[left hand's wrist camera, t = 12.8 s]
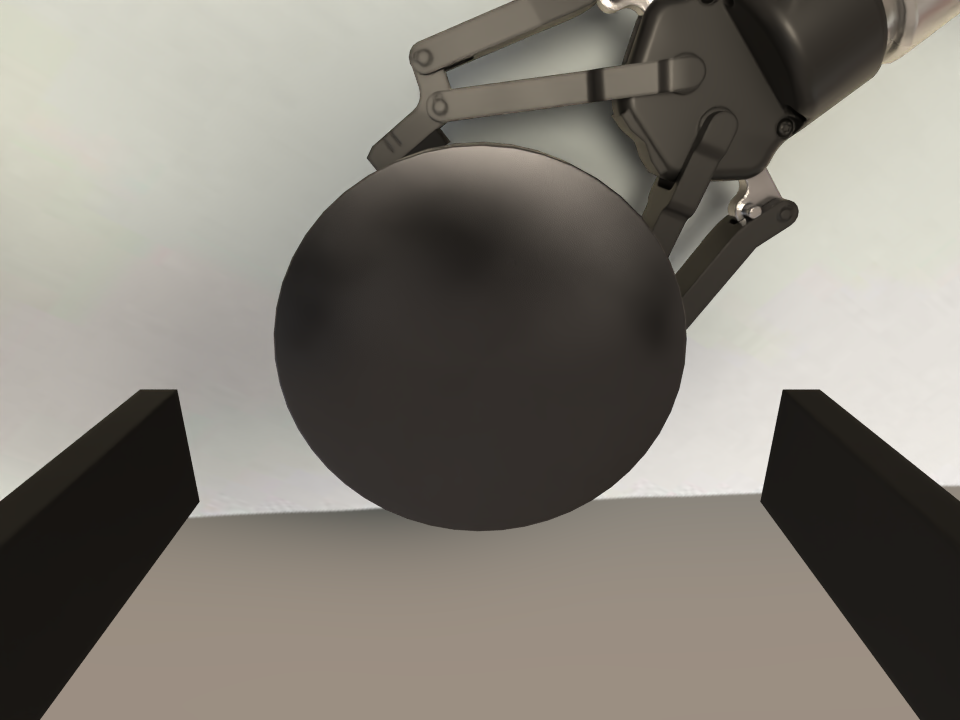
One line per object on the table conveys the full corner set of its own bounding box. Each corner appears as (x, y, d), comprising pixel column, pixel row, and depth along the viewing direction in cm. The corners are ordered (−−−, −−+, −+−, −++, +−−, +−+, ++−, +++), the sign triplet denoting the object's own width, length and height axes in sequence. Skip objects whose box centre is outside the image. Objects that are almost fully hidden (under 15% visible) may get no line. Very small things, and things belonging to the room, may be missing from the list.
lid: (215, 336, 19) (189, 358, 17) (484, 44, 16) (484, 35, 14) (477, 554, 22) (476, 591, 20) (743, 343, 19) (769, 365, 17)
